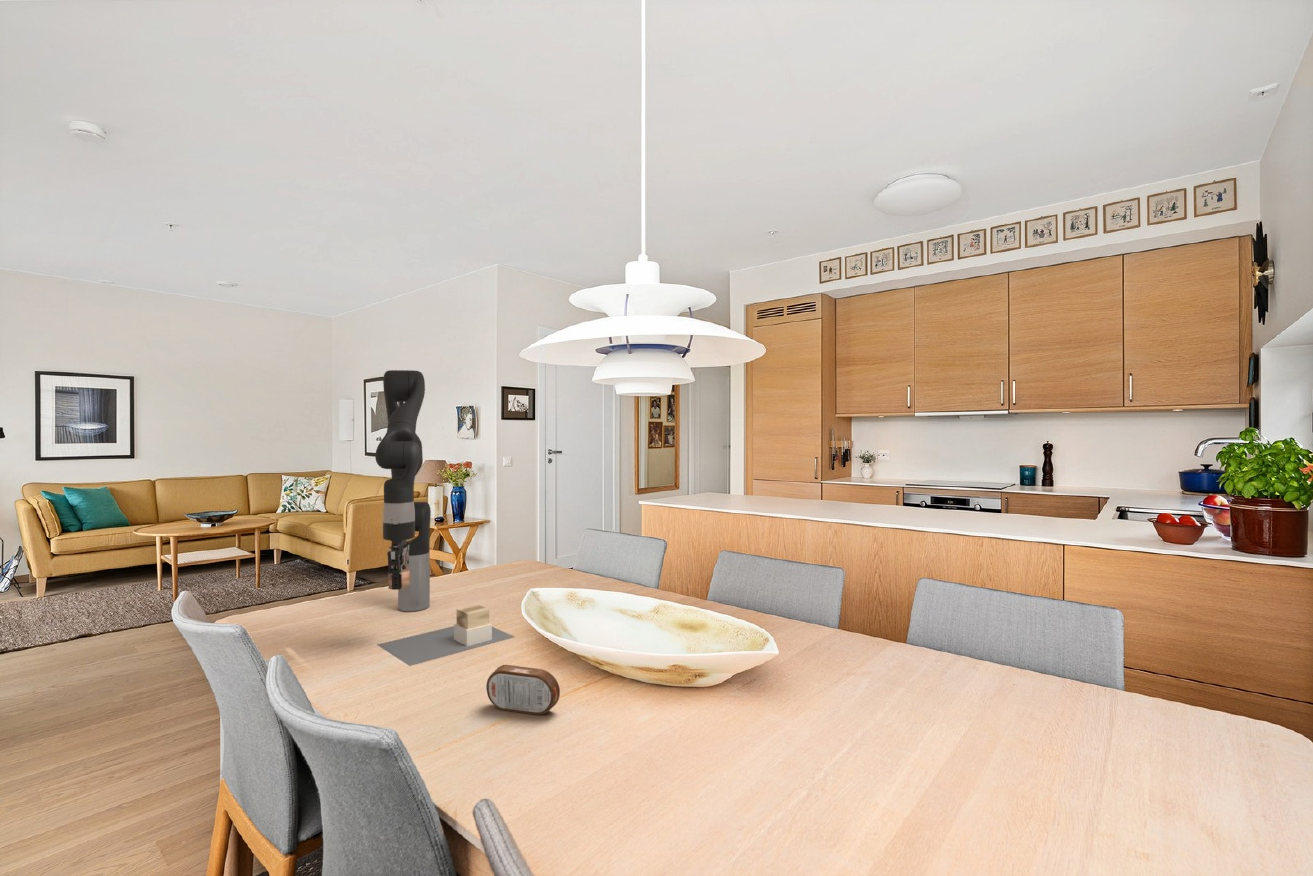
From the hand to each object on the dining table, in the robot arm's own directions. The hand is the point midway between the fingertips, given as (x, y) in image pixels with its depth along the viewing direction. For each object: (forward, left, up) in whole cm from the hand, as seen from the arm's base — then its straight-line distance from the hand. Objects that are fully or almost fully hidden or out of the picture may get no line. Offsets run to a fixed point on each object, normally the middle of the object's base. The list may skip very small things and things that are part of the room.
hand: (399, 586), depth 153 cm
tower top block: (+10, +15, -11) cm, 21 cm away
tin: (+52, +3, -16) cm, 55 cm away
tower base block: (+10, +15, -15) cm, 23 cm away
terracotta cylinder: (0, 0, 0) cm, 0 cm away
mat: (+6, +10, -16) cm, 20 cm away
